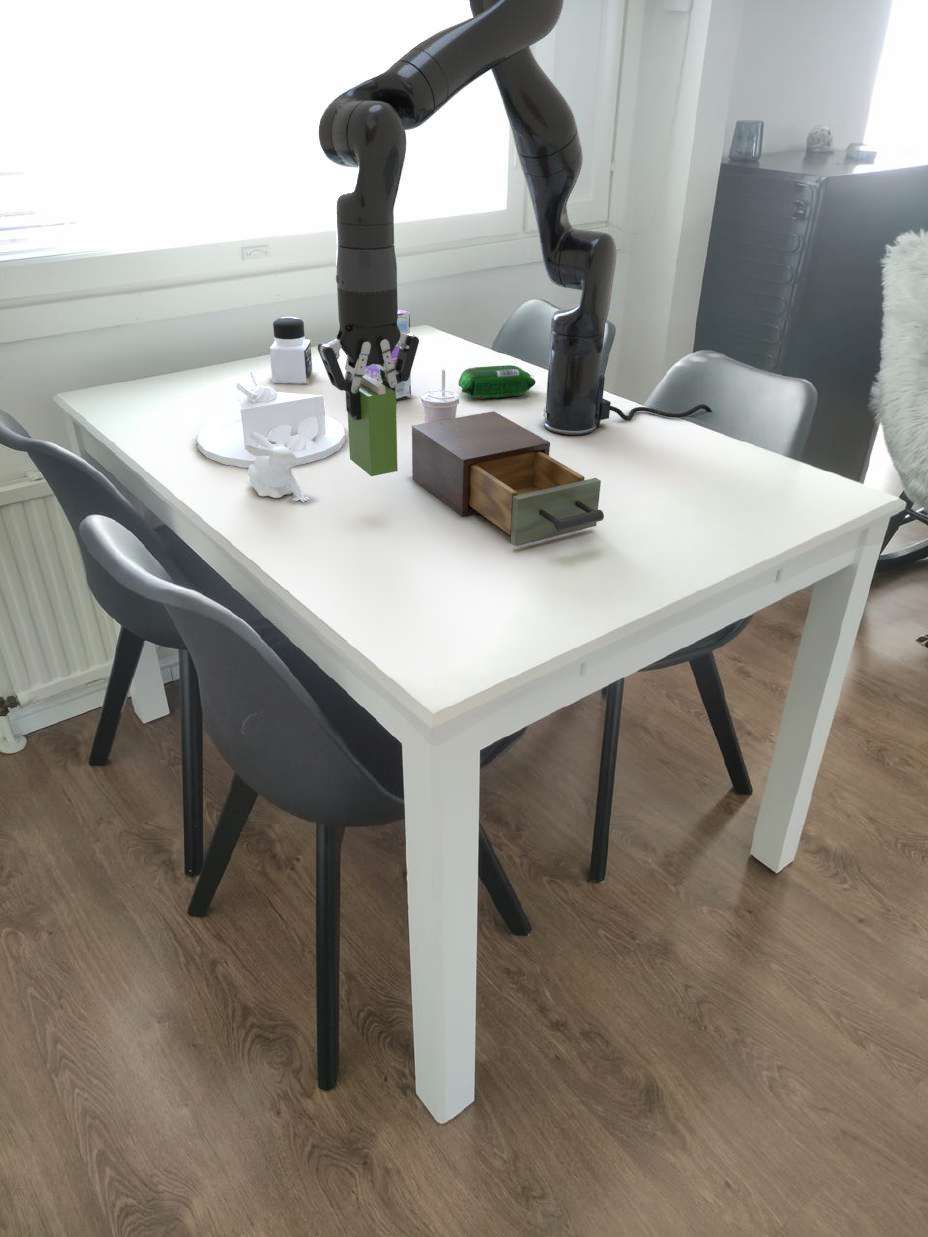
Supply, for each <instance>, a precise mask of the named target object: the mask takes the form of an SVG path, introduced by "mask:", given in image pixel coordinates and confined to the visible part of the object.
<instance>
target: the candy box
mask: <svg viewBox="0 0 928 1237" xmlns="http://www.w3.org/2000/svg"><path fill="white" fill-rule="evenodd" d="M397 326H398V328H399V330H400V332H401V333H410V334H411V312H410V311H406V310H402V309H399V308H398V319H397ZM399 349H400V348H399V347H398V343H397V344H396V346H395V348H394V350H393V351H392V353H391V355H392V359H393V363H394V366H395V363H396V360H397V356H398V352H399ZM365 374H366V375H368V376H369V377H371V378H373V379H375V380H377V381H378V382H380V383H382V384H383V382H382V380H381V377H380V373H379V370H378V368H377V366H376V364H372V365H370V366H367V367H366V369H365ZM411 378H412V376H411V373H410V376H409V379H408V380H407V381H402V382H400V383H398V384H397V386H396V388H395V391H396V401H401V400H406V399H409V398H411V397H412V385H411V384H412V380H411Z"/></svg>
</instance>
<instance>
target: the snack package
mask: <svg viewBox="0 0 928 1237" xmlns="http://www.w3.org/2000/svg"><path fill="white" fill-rule="evenodd" d="M536 383H537V382H536V380H535V379H534V377H533V376H532V375H531V374H530V373H529V372H527V371H526V370H524V369H523V368H521V367H519V366H517V365H512V364H511V365H509V364H505V365H491V366H490V365H489V366H474V367H469V368H466V369H465V370H463V372H462V373H461V374H460V377H459V379H458V387H459V388H461V392H462V393H463V394H466V395H468V397H470V398H471V399H473V400H474V399H475V400H485V399H497V398H499V399H500V398H510V397H519V396H523V395H525V394H526V393H527V392H528V391H529V390H530V389H531V388H533V387H534V386H535V385H536Z"/></svg>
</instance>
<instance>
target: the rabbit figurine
mask: <svg viewBox="0 0 928 1237" xmlns="http://www.w3.org/2000/svg"><path fill="white" fill-rule="evenodd" d="M250 438H252V439H253V440H255V441H257V444H256V445H255V446H254V445H251V444H247V445H246V449H247V451H248V452H249V453H251V454H253V455H255V456H256V459H255V463H254V464H252V465H250V466H249V468H248V477H249V481H250V483H251V485H252V487H253V489H254V490H255V492H256V493H257V495H258V496H259V497H270V498H274V499H279V498H282V497H283V496H284V495H291V494H294V496H295V497H293V498H292V501H294V502H299V501H301V502H302V503H305V502H308V501H310V500H311V499H310V498H309V497H307V496H305V495H304V493H303V492H302V490H301V488H300V485H299V483H298V482H297V480H296V478H295V476H294V473H293V471H292V468H293V467H295V465H296V460H297V458H296V455H295V454H294V453H293V452H292V451H291V450H289V449H288V448H285V447H275V446H273V445H272V444H271V443H270V442H269V441H268V438H267V436H266V437H265V438H264V437H263V436H261V435H259V434H258V433H256V432H252V433H251V435H250ZM296 466H297V465H296Z"/></svg>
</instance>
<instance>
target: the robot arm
mask: <svg viewBox="0 0 928 1237" xmlns="http://www.w3.org/2000/svg"><path fill="white" fill-rule="evenodd" d="M467 1H468V7H469V13H470V14H469V15H470V18H468V19H466V20H464V21H461V22H459V23H457V24H455V25H451V26H450V27H447V28H445V29H442V30H440V31H438V32H436V33H434V34H431V35H430V36H427V37H426V38H424V39H422V40H420V41H419V42H418V43H416V44H415V45H413V46H412V47H411V48H410V49H409V50H407V51H406V52H405V53H404V54H402V55H401V56H400V57H399V58H398V59H397V60H395V61H394V62H393V63H391V65H390V66H389V67H388V68H386V70H384V71H383V72H381V73H379V74H378V75H377V74H376V75H375V76H373V77H371V78H368V79H366V80H364V81H363V82H360V83H359V84H356V85H355V86H353V87H351V88H349V89H348V90H346V91H344V92H342V93H340V94H339V95H338V96H336V97H335V98H334V99H333V100H332V101H331V102H330V103H329V104H328V105H327V106H326V108H325V109H324V111H323V112H322V114H321V116H320V119H319V122H318V127H317V140H318V144H319V147H320V149H321V151H322V153H323V154H324V155H325V157H326V158H327V159H328V160H329V161H331V162H332V163H334V164H336V165H339V166H342V167H347V168H355V169H358V170H357V176H356V181H355V185H354V189H351V190H347V191H344V192H341V193H340V194H339V195H338V196H337V198H336V200H335V207H334V208H335V209H334V210H335V233H336V234H335V235H336V257H335V258H336V259H335V273H336V274H335V282H336V292H337V311H338V312H337V313H338V315H337V316H338V322H339V329H338V332H337V335H336V338H335V339H333V340H332V341H330V342H328V343H324V342H320V343H319V344H318V345H317V352H318V354H319V357H320V359H321V361H322V364H323V366H324V369H325V372H326V374H327V377H328V379H329V381H330V385H331V386H333V387H335V388H336V389H337V390H339V391H341V392H342V391H344V393H345V409H346V410H345V411H346V412H347V415H348V414H349V415H351V417H352V418H353V419H355V420H361V397H360V393H359V390H360V385H361V380H362V377H363V376H364V374H365V369H366V367H367V366H370V365H372V364H376V366H377V368H378V370H379V373H380V377H381V380H382V382H383V385H385V386H386V387H388V388H390V389H391V390H393V391H394V392H396V391H395V388H396V386H397V384H398V383H400V382H402V381H407V380H408V379H409V376H410V374H411V372H412V368H413V366H414V362H415V358H416V355H417V351H418V349H419V348H418V347H419V344H420V339H419V337H417V336H416V335H414V334H413V333H411V332H410V333H401V332H400V330H399V328H398V326H397V319H398V309H399V307H398V303H399V302H398V264H397V263H398V262H397V257H396V256H397V255H396V248H395V216H394V210H395V204H396V200H397V195H398V192H399V187H400V181H401V179H402V178H401V177H402V172H403V168H404V164H405V159H406V153H407V134H406V131H409V130H414V129H416V128H418V127H420V126H422V125H423V124H425V123H426V122H427V121H428V120H429V119H430V118H431V117H433V116H434V115H435V114H436V113H437V112H438V111H439V110H440V109H441V108H443V107H444V106H445V105H446V104H447V103H448V102H449V101H450V100H451V99H453V98H454V97H455V96H456V95H457V94H459V93H460V92H461V91H462V90H463V89H465V88H466V87H467V86H469V85H470V84H472V83H473V82H475V81H476V80H477V79H479V78H480V77H481V76H483V75H484V74H486V73H488V72H490V71H491V73H492V75H493V78H494V81H495V83H496V86H497V90H498V93H499V96H500V98H501V101H502V105H503V107H504V111H505V114H506V118H507V121H508V124H509V127H510V131H511V134H512V139H513V143H514V147H515V150H516V154H517V158H518V161H519V165H520V168H521V170H522V173H523V176H524V180H525V182H526V187H527V189H528V193H529V198H530V200H531V204H532V209H533V213H534V216H535V222H536V227H537V231H538V238H539V243H540V250H541V256H542V260H543V266H544V268H545V272H546V275H547V277H548V279H549V281H550V282H551V283H552V284H553V285H556V286H558V287H561V288H566V289H572V290H578V291H581V297H580V300H579V302H578V303H577V304H575V305H572V306H568V307H563V308H561V309H558V310H555V311H554V312H553V314H552V316H551V320H550V322H551V323H550V340H549V354H548V355H549V356H548V367H547V368H548V369H547V370H548V371H547V372H548V373H547V384H546V398H545V408H543V413H542V414H543V415H542V416H543V417H544V420H543V426H544V428H545V429H546V430H548V431H550V432H553V433H555V434H561V435H567V436H579V435H586V434H590V433H592V432H594V431H595V430H596V429H598V428H601V421H603V420H604V421H605V420H609V419H610V414H611V413H610V412H614V413H616V414H617V415H618V416H619V417H620V418H621V420H624V421H630V420H631V419H632V418H633V416H634V415H635V413H637V412H647V413H652V414H655V415H659V416H662V417H665V418H671V419H676V418H677V419H679V418H685V417H687V416H690V415H693V413H695V412H697V411H699V410H705V411H706V412H707V413H712V412H713V410H712V409H711V408H710V407H709V406H708V405H707V404H704V403H703V404H698V405H695V406H694V407H692V408H690V409H689V410H686V411H683V412H678V413H675V412H674V413H672V412H666V411H662V410H659V409H656V408H653V407H647V406H638V407H637V406H636V407H633V408H632V409H631V410H630V411H629V413H628V415H627V414H625V413H624V412H623V411H622V410H621V409H620V408H618V407H617V406H613V405H611V404H612V402H611V401H610V400H608V399H605V398H604V389H605V380H606V377H605V375H604V373H603V374H602V365H603V364H602V363H603V354H604V342H605V341H604V340H605V333H606V332H605V331H606V324H607V320H608V315H609V312H610V308H611V306H610V305H611V300H612V299H611V298H612V292H613V285H614V278H615V273H616V265H617V264H616V263H617V245H616V242H615V238H614V237H613V236H612V235H611V234H610V233H607V232H604V231H597V230H587V229H580V228H574V226H572V224H571V222H570V219H569V214H568V206H567V205H568V201H569V199H570V197H571V194H572V193H573V190H574V188H575V186H576V184H577V183H578V182H577V181H578V179H579V177H580V174H581V171H582V167H583V161H584V156H583V155H584V154H583V147H582V143H581V138H580V134H579V130H578V125H577V122H576V118H575V115H574V113H573V110H572V107H570V105H569V103H568V102H567V100H566V99H565V97H564V96H563V94H562V93H561V91H560V90H559V89H558V87H557V86H556V85H555V84H554V83H553V81H552V80H551V79H550V78H549V76H548V75H547V73H545V71H544V70H543V68H542V67H541V65H539V63H538V61H537V59H536V57H535V55H534V53H533V52H532V49H531V46H533V45H535V44H536V43H538V42H540V41H541V40H543V39H544V38H545V37H547V36H548V35H549V34H550V33H551V32H552V31H553V30H554V29H555V27H556V25H557V23H558V21H559V19H560V17H561V14H562V12H563V11H562V10H563V6H564V1H565V0H467ZM397 343H398V347H399V348H400V349H399V352H398V356H397V360H396V363H395V366H394V363H393V359H392V355H391V353H392V351H393V350H394V348H395V346H396V344H397ZM341 349H342V351H343V352H344V353H345V355H346V361H345V366H344V369H345V375H344V374H343V371H342V368H341V366H340V364H339V358H340V350H341Z"/></svg>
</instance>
